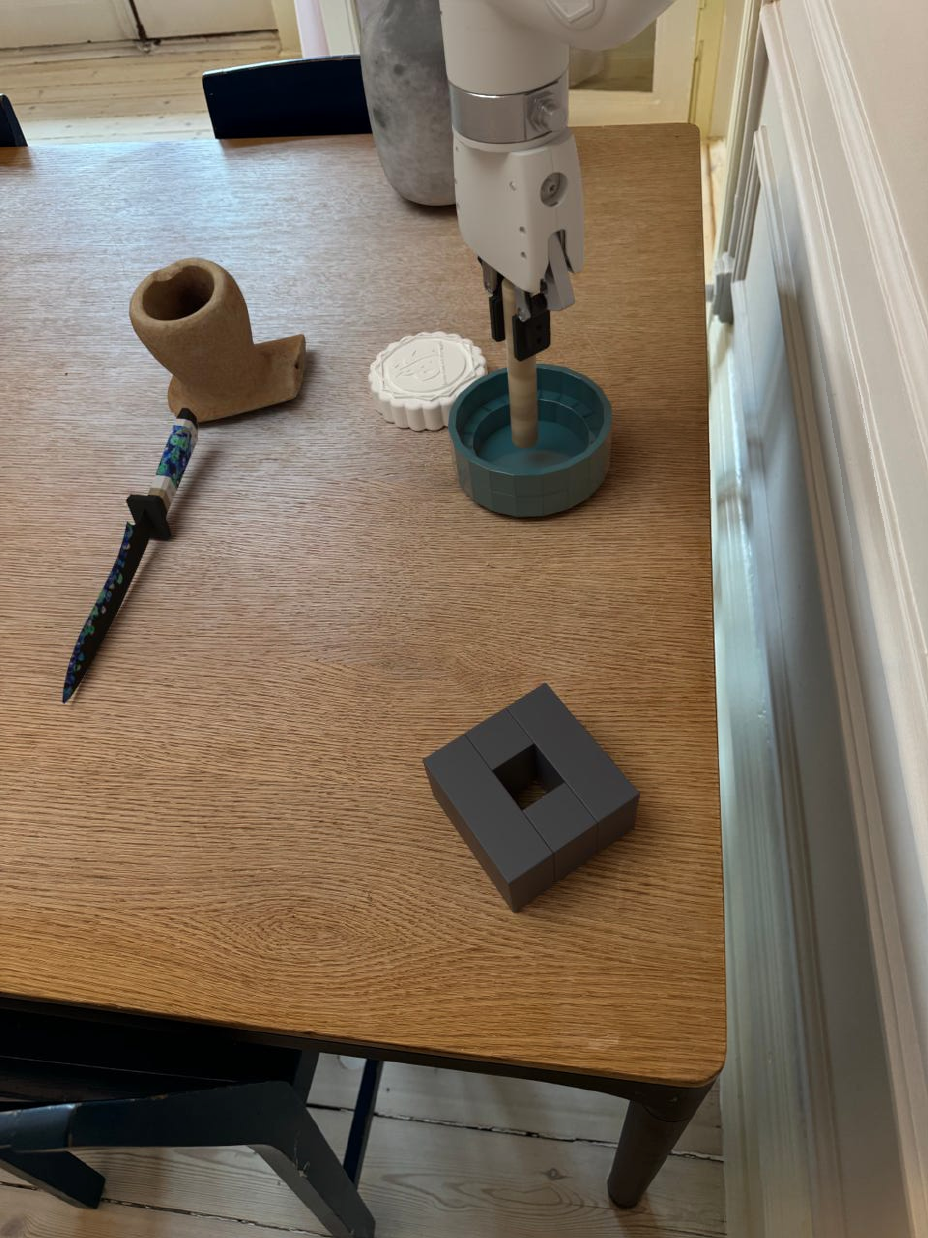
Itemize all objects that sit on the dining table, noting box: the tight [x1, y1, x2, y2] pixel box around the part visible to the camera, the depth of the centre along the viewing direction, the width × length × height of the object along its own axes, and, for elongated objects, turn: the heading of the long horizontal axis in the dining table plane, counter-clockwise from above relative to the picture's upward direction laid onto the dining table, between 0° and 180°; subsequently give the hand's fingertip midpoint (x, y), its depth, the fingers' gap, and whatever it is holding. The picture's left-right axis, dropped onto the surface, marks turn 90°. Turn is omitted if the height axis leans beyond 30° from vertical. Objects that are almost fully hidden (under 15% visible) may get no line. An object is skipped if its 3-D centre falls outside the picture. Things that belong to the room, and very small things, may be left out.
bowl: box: [447, 362, 613, 518], centre depth 78 cm, size 14×14×6 cm
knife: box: [61, 408, 199, 704], centre depth 76 cm, size 30×3×4 cm, turn 165°
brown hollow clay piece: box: [128, 257, 307, 423], centre depth 84 cm, size 15×12×15 cm
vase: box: [359, 0, 456, 207], centre depth 98 cm, size 16×16×30 cm
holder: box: [422, 682, 641, 914], centre depth 58 cm, size 10×10×6 cm
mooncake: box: [367, 330, 489, 432], centre depth 86 cm, size 12×12×4 cm
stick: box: [502, 277, 539, 449], centre depth 71 cm, size 2×2×16 cm
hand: (521, 341), depth 69 cm, fingers closed on stick, 2 cm apart
